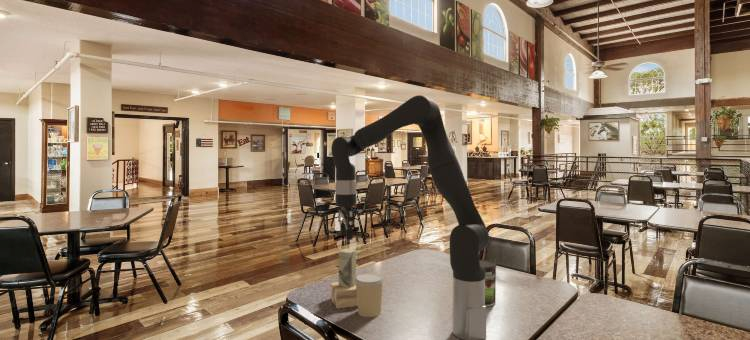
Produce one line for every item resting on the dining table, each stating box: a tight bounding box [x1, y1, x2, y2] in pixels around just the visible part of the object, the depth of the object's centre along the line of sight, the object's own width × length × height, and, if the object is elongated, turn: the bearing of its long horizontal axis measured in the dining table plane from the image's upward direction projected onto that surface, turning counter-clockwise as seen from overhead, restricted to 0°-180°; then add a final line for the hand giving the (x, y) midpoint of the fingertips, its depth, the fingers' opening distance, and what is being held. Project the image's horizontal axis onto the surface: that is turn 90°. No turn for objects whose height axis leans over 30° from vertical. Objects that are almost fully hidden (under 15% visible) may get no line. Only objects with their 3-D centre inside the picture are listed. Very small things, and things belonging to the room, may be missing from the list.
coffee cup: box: [355, 273, 384, 318], centre depth 128 cm, size 9×9×12 cm
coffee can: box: [479, 258, 497, 308], centre depth 137 cm, size 10×10×14 cm
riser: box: [330, 281, 358, 310], centre depth 138 cm, size 10×10×6 cm
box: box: [338, 248, 357, 288], centre depth 137 cm, size 5×4×13 cm
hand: (346, 237), depth 137 cm, fingers open, 8 cm apart
